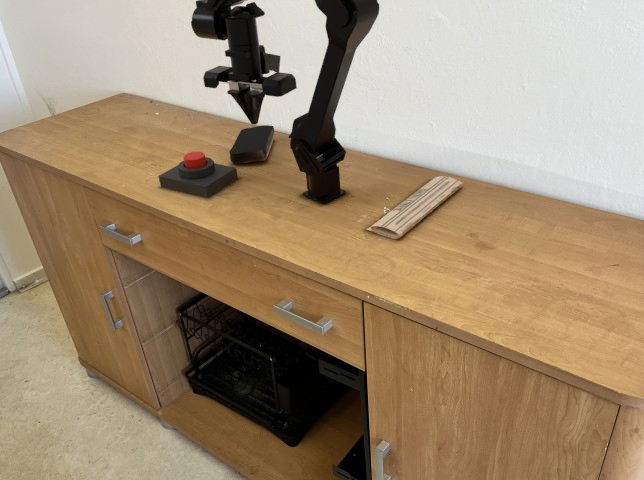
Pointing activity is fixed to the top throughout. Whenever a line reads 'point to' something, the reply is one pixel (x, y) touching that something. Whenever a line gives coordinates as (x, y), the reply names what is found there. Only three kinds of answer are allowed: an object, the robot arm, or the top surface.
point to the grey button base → (199, 178)
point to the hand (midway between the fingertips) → (254, 123)
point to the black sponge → (252, 144)
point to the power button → (194, 160)
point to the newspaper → (416, 207)
